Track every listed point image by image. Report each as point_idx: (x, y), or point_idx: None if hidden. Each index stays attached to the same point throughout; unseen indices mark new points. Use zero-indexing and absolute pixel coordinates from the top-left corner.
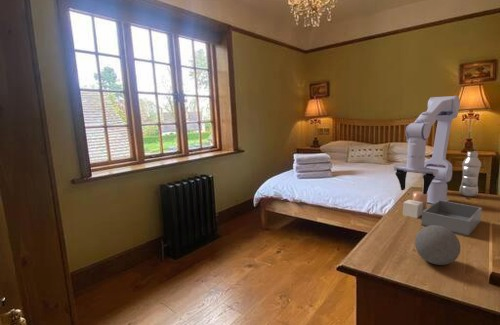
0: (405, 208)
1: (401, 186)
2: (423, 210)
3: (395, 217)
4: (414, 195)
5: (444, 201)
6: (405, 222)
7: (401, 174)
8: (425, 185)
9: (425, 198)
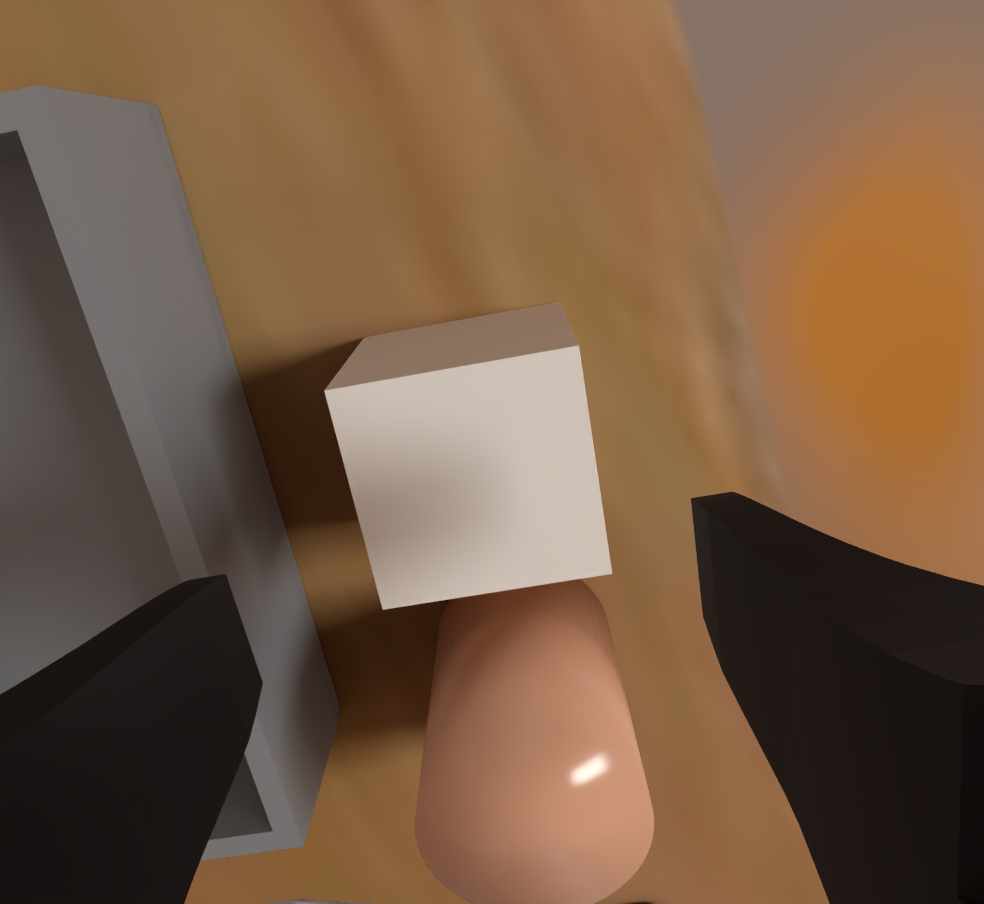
0: (531, 332)
1: (749, 513)
2: (445, 619)
3: (567, 102)
4: (576, 714)
5: (211, 840)
6: (352, 21)
7: (952, 692)
8: (41, 692)
9: (423, 754)
